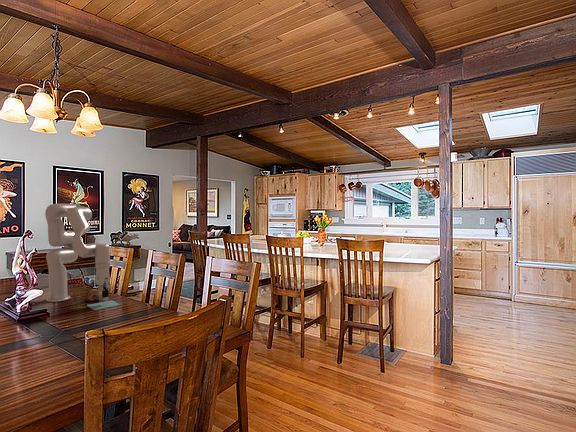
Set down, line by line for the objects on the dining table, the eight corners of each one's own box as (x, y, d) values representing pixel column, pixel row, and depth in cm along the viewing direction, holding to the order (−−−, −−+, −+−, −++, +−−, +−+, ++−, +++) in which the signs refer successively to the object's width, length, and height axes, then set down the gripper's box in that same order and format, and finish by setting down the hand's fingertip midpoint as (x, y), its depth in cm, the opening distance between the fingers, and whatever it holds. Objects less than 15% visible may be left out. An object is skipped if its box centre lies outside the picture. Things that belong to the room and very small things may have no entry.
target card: (86, 305, 203) (86, 305, 203) (112, 300, 212) (112, 300, 212) (94, 310, 193) (94, 309, 193) (120, 305, 203) (120, 304, 203)
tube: (97, 299, 202) (97, 282, 202) (106, 297, 206) (106, 281, 206) (100, 301, 199) (99, 283, 199) (109, 299, 202) (109, 282, 202)
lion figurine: (111, 297, 220) (111, 283, 220) (110, 299, 215) (110, 285, 215) (85, 299, 216) (85, 285, 216) (83, 301, 211) (83, 287, 211)
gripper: (91, 264, 205) (91, 295, 206) (100, 267, 193) (101, 300, 194) (104, 263, 211) (105, 293, 211) (114, 266, 199) (115, 297, 199)
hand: (103, 296), depth 202 cm, fingers closed on tube, 5 cm apart
